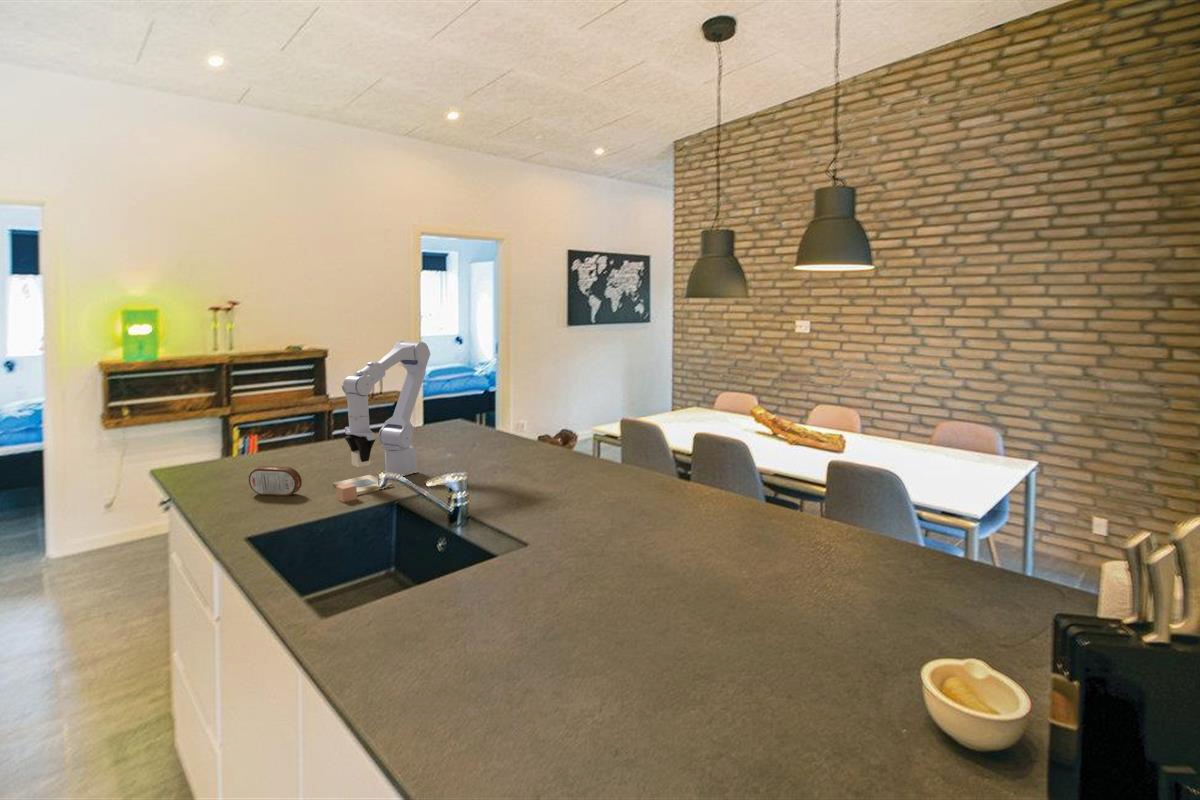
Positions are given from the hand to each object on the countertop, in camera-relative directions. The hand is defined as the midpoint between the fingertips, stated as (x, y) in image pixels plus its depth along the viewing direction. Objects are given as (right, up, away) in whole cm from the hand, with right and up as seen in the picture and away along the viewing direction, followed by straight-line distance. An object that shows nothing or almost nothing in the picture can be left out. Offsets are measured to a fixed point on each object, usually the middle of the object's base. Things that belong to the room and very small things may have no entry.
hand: (361, 459), depth 187 cm
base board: (0, -8, +1) cm, 8 cm away
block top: (0, -10, -10) cm, 15 cm away
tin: (-22, -10, -7) cm, 25 cm away
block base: (0, -1, 0) cm, 2 cm away
